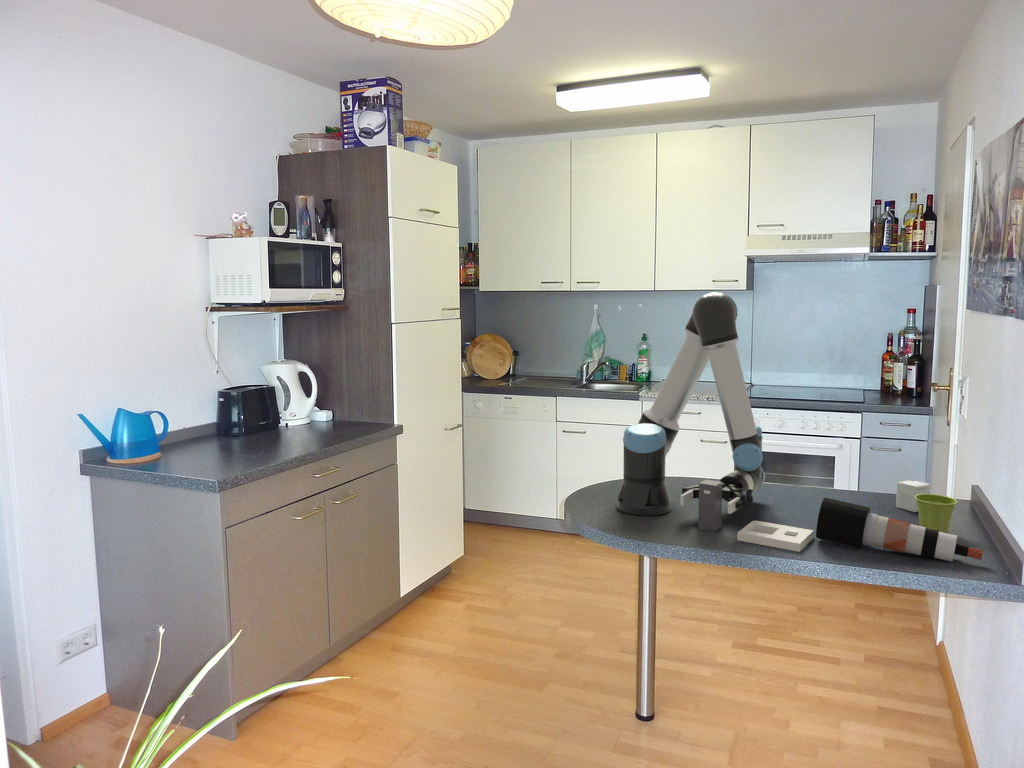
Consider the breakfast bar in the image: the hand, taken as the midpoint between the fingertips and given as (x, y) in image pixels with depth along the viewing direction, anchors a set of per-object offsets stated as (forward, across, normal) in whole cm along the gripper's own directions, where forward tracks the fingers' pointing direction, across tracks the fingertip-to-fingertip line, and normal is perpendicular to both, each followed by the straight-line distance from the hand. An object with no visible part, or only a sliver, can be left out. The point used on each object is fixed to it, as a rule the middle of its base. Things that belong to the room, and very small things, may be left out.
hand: (704, 504), depth 195 cm
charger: (-4, 0, -7) cm, 8 cm away
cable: (-10, -43, -7) cm, 45 cm away
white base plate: (-4, -17, -7) cm, 19 cm away
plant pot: (-32, -48, -7) cm, 58 cm away
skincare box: (-52, -40, -7) cm, 66 cm away
